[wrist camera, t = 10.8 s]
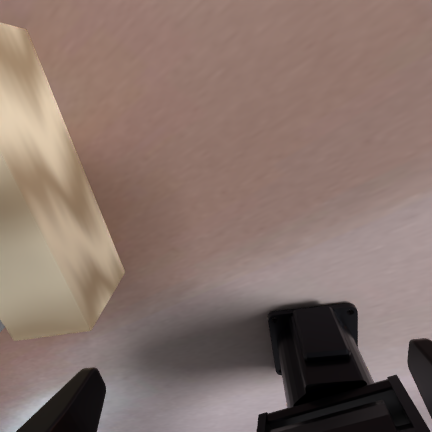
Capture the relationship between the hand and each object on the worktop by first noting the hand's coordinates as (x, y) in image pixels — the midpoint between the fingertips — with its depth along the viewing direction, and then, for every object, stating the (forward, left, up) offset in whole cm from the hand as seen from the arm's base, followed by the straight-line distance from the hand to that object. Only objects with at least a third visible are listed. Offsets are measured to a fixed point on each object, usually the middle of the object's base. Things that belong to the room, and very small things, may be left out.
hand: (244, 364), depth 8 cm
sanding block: (+4, +12, -12) cm, 18 cm away
